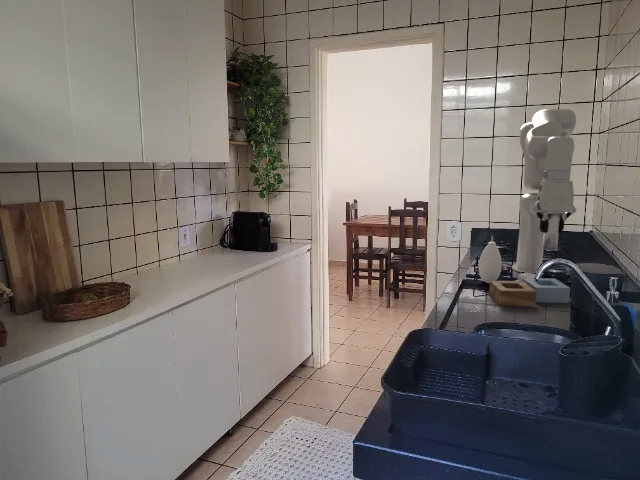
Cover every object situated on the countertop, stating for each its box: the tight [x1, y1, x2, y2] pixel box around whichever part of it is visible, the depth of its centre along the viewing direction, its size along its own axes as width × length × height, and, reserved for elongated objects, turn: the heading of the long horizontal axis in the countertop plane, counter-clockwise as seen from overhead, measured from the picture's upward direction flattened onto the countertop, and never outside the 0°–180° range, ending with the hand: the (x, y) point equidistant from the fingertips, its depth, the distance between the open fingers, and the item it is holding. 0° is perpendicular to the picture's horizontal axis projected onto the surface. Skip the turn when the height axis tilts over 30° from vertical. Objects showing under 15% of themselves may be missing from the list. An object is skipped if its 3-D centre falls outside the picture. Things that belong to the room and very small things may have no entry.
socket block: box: [522, 277, 571, 304], centre depth 156 cm, size 11×11×5 cm
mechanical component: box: [515, 273, 535, 281], centre depth 168 cm, size 10×4×10 cm
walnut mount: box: [488, 280, 536, 307], centre depth 153 cm, size 11×11×5 cm
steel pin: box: [542, 212, 561, 252], centre depth 152 cm, size 4×4×12 cm
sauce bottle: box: [478, 235, 503, 285], centre depth 171 cm, size 8×8×18 cm
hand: (551, 231), depth 152 cm, fingers closed on steel pin, 4 cm apart
